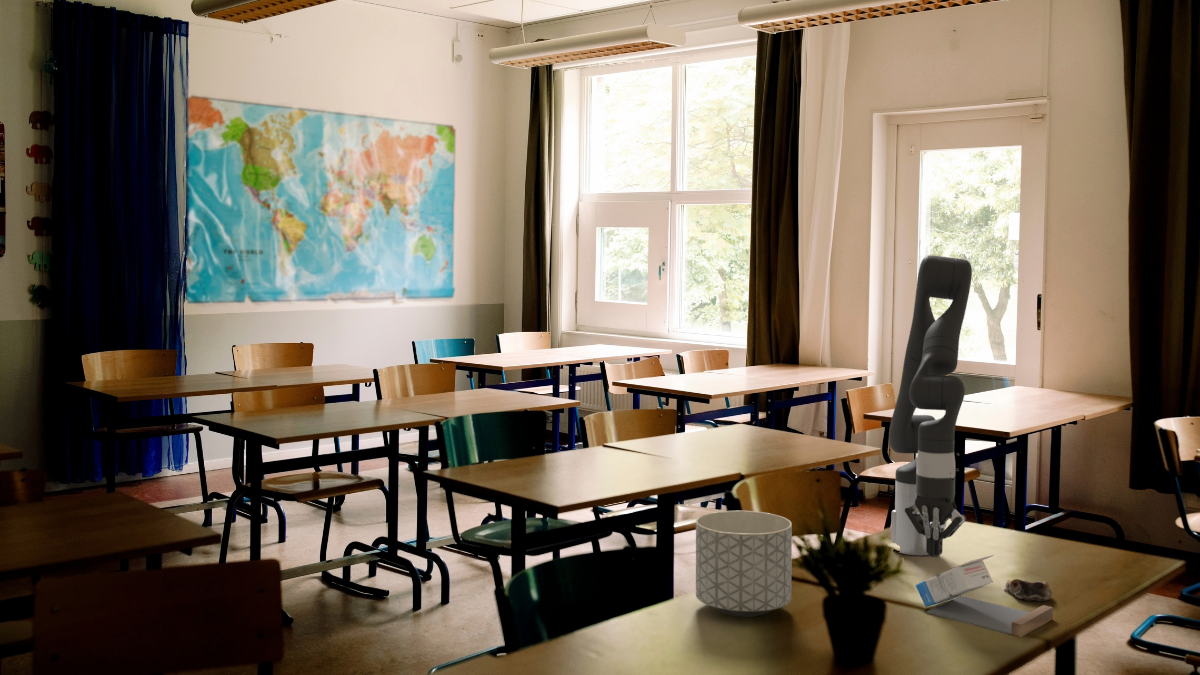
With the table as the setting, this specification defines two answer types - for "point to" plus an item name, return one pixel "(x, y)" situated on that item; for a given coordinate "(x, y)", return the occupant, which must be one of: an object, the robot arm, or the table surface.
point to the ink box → (954, 582)
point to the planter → (743, 562)
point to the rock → (1029, 589)
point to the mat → (979, 613)
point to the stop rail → (1031, 621)
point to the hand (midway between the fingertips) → (934, 556)
